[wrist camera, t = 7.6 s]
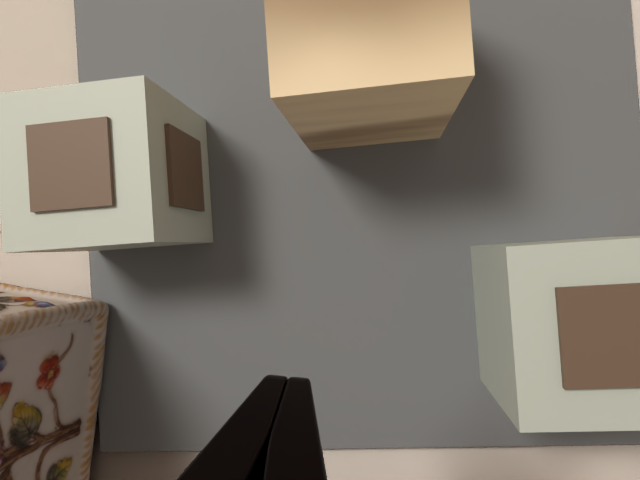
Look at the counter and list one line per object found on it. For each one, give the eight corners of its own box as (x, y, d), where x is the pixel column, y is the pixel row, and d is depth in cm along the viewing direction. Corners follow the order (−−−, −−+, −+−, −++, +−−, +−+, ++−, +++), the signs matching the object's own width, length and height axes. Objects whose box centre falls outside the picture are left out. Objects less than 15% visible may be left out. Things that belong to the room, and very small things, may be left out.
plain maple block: (439, 138, 21) (474, 75, 13) (309, 150, 22) (270, 97, 14) (430, 8, 21) (459, -131, 14) (301, 25, 22) (257, -97, 14)
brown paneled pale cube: (217, 242, 23) (156, 241, 16) (98, 250, 23) (-3, 253, 17) (209, 119, 23) (146, 72, 17) (91, 131, 24) (-11, 91, 17)
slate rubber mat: (659, 439, 21) (666, 444, 20) (106, 447, 24) (100, 452, 23) (615, -100, 21) (621, -108, 20) (78, -19, 24) (72, -25, 24)
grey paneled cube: (628, 374, 20) (737, 431, 14) (480, 379, 21) (521, 435, 15) (617, 236, 20) (719, 232, 14) (470, 245, 21) (507, 246, 15)
